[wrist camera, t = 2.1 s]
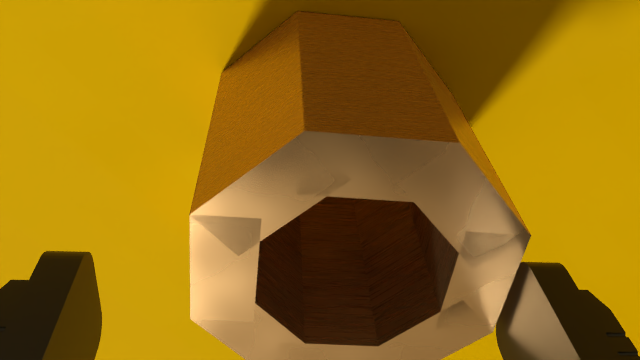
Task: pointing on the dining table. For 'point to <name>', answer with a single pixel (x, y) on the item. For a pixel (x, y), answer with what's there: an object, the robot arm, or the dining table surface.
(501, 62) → the dining table surface
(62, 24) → the dining table surface
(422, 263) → the copper ring
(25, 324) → the robot arm
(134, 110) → the dining table surface
